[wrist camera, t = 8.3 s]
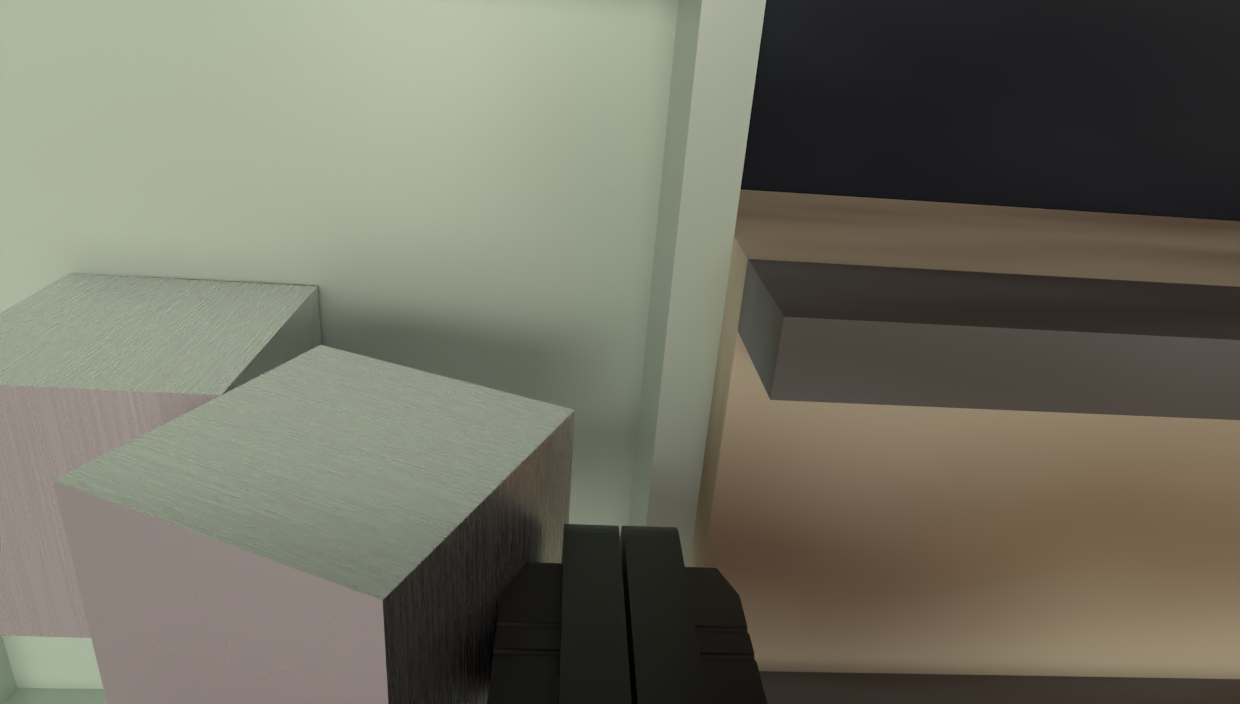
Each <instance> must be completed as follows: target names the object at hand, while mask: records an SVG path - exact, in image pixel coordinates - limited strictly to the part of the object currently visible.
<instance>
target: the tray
mask: <svg viewBox="0 0 1240 704" xmlns="http://www.w3.org/2000/svg"><path fill="white" fill-rule="evenodd" d="M765 5H766V0H0V313H1V312H3V311H4V310H6V309H8V308H10V307H11V306H13V305H15V304H17V303H19V302H20V301H22V300H24V299H26V298H27V297H29V296H31V295H33V294H34V293H36V292H38V291H40V290H41V289H43V288H45V287H47V286H48V285H50V284H52V283H54V282H56V281H57V280H59V279H61V278H63V277H64V276H66V275H68V274H70V273H78V274H97V275H115V276H134V277H152V278H170V279H189V280H207V281H226V282H244V283H263V284H281V285H300V286H317V290H318V303H319V315H320V327H321V339H322V345H324V346H327V347H331V348H335V349H339V350H343V351H347V352H351V353H355V354H359V355H363V356H367V357H370V358H374V359H378V360H382V361H386V362H390V363H394V364H398V365H402V366H406V367H410V368H413V369H417V370H421V371H425V372H429V373H433V374H437V375H441V376H445V377H449V378H453V379H456V380H460V381H464V382H468V383H472V384H476V385H480V386H484V387H488V388H492V389H496V390H499V391H503V392H507V393H511V394H515V395H519V396H523V397H527V398H531V399H535V400H539V401H542V402H546V403H550V404H554V405H558V406H562V407H566V408H570V409H574V410H575V418H574V436H573V454H572V472H571V490H570V508H569V524H585V525H614V526H618V527H619V534H620V533H621V528H622V526H650V527H676V528H677V529H678V532H679V537H680V542H681V548H682V554H683V559H684V565H685V567H689V564H690V557H691V549H692V542H693V535H694V527H695V520H696V513H697V505H698V498H699V491H700V483H701V476H702V468H703V461H704V454H705V446H706V439H707V432H708V424H709V417H710V410H711V402H712V395H713V388H714V380H715V373H716V365H717V358H718V351H719V343H720V336H721V329H722V321H723V314H724V307H725V299H726V292H727V284H728V277H729V270H730V262H731V255H732V248H733V240H734V233H735V226H736V218H737V211H738V203H739V196H740V189H741V181H742V174H743V167H744V159H745V152H746V145H747V137H748V130H749V122H750V115H751V108H752V100H753V93H754V86H755V78H756V71H757V64H758V56H759V49H760V42H761V34H762V27H763V19H764V12H765ZM0 704H107V701H106V697H105V693H104V689H103V685H102V681H101V676H100V672H99V668H98V664H97V660H96V656H95V652H94V647H93V643H92V639H91V638H73V637H37V636H2V635H0Z"/></svg>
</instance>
